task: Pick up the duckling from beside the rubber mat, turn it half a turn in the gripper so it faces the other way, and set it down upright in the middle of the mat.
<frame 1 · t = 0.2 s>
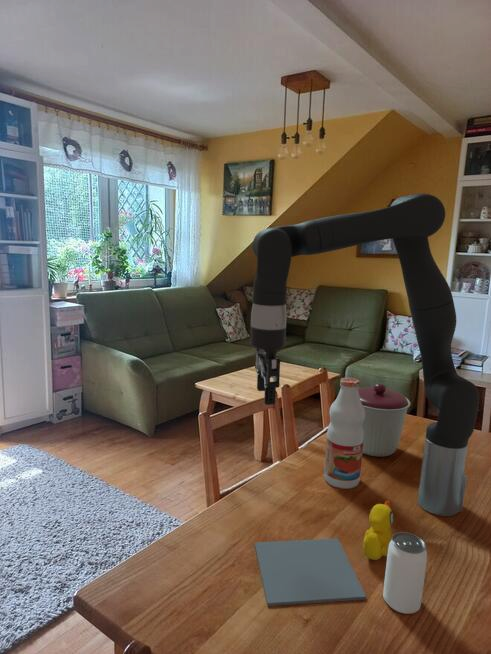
hand: (265, 397, 100), 29 cm above the table, tool pointing down, fingers open, 8 cm apart
duckling: (376, 552, 95), on the table
can: (401, 602, 82), on the table
fruit juice: (341, 480, 122), on the table
mat: (306, 570, 89), on the table
canister: (373, 449, 141), on the table
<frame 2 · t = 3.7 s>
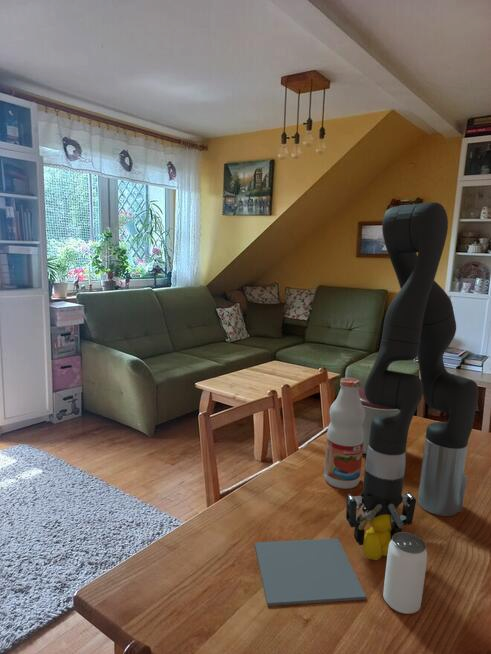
hand: (376, 541, 95), 2 cm above the table, tool pointing down, fingers closed on duckling, 7 cm apart
duckling: (376, 552, 95), on the table, touching gripper
everything else where it was.
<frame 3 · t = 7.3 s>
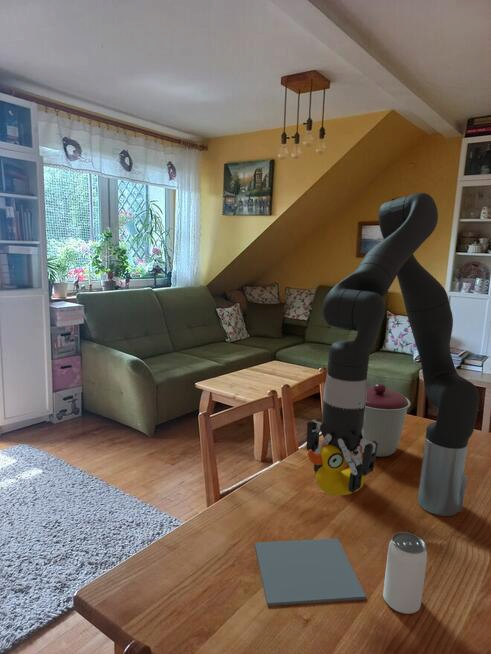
hand: (336, 482, 86), 18 cm above the table, tool pointing down, fingers closed on duckling, 7 cm apart
duckling: (334, 494, 87), point 16 cm above the table, touching gripper
everything else where it was.
when the fingers open (4 cm above the table, at t = 11.1 s): duckling drops 1 cm, resting on mat.
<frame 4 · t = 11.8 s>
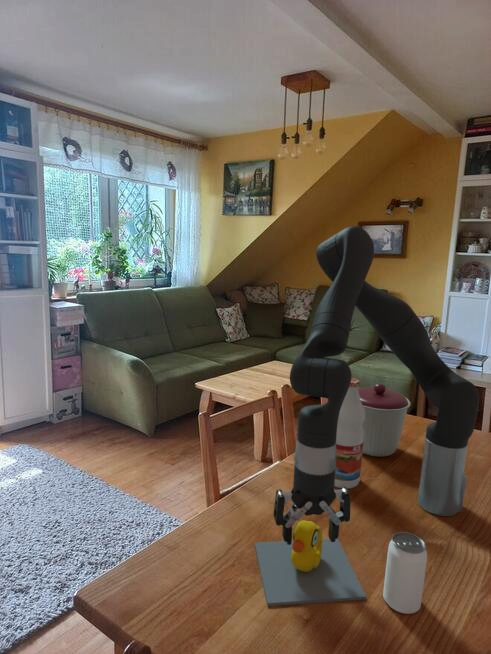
hand: (310, 540, 87), 7 cm above the table, tool pointing down, fingers open, 8 cm apart
duckling: (305, 567, 89), resting on mat
everything else where it was.
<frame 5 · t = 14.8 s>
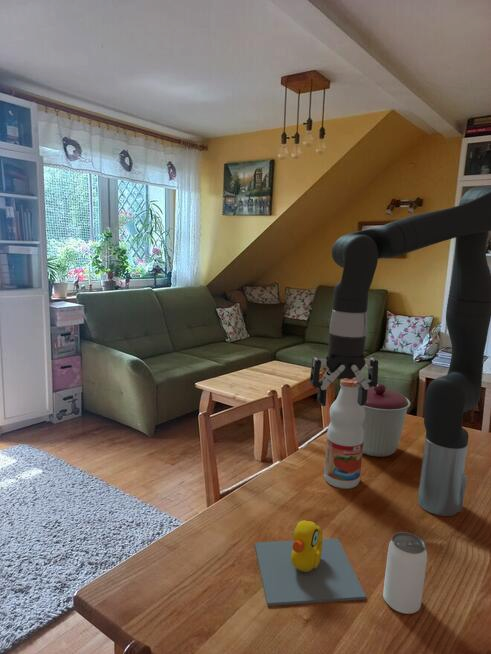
hand: (341, 404, 99), 28 cm above the table, tool pointing down, fingers open, 8 cm apart
nothing on the table moved.
at the end: duckling inside the target area on the mat (0.3 cm from its centre), point 0.4 cm above the mat's base; duckling tilted 0°; the gripper is holding nothing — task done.
